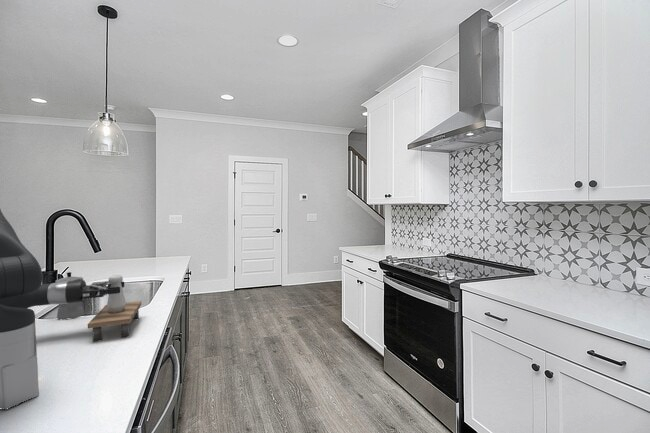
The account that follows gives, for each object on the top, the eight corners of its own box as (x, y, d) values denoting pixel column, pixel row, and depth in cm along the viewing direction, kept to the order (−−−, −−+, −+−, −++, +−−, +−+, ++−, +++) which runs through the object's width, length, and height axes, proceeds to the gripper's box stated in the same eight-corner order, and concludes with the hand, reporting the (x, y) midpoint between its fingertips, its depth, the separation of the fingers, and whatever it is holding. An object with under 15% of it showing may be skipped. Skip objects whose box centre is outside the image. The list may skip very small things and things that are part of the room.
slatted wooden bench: (130, 337, 110) (129, 318, 110) (88, 343, 106) (87, 323, 106) (141, 316, 131) (141, 300, 131) (107, 320, 127) (106, 304, 127)
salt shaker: (116, 314, 115) (115, 278, 114) (103, 313, 116) (101, 277, 115) (129, 309, 121) (128, 274, 120) (116, 308, 122) (115, 273, 121)
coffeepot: (48, 317, 132) (46, 273, 131) (74, 310, 140) (72, 268, 140) (70, 322, 125) (68, 276, 125) (96, 315, 134) (94, 271, 133)
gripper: (59, 286, 106) (118, 281, 112) (73, 277, 119) (125, 273, 125) (60, 309, 106) (119, 302, 112) (74, 297, 119) (125, 292, 125)
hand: (122, 286), depth 119 cm, fingers open, 8 cm apart
